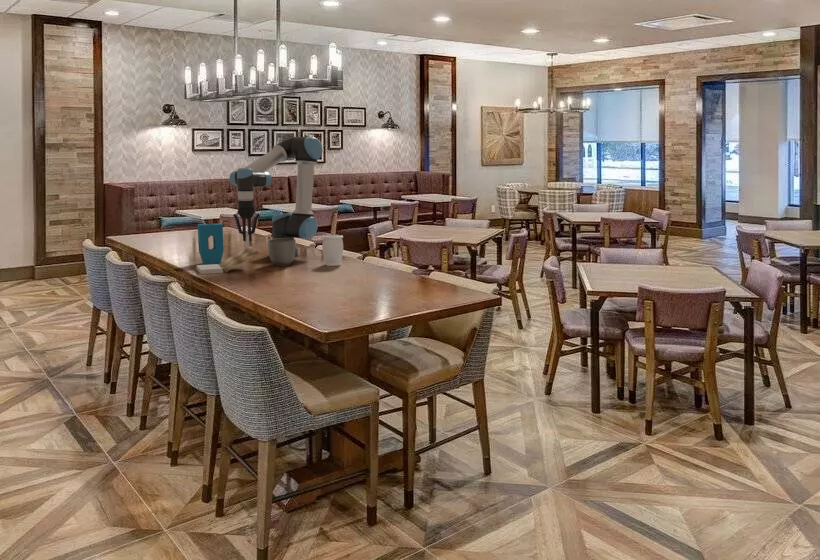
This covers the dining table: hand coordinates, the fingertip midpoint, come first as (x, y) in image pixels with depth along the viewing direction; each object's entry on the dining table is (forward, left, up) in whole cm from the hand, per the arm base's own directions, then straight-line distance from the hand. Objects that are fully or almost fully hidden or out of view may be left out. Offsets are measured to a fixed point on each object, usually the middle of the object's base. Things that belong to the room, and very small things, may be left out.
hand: (247, 247), depth 379 cm
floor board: (+19, +4, -10) cm, 22 cm away
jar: (-42, +8, -10) cm, 44 cm away
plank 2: (+5, +8, -6) cm, 11 cm away
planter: (-18, -1, -10) cm, 20 cm away
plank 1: (+5, 0, -6) cm, 8 cm away
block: (+14, -21, -10) cm, 27 cm away
